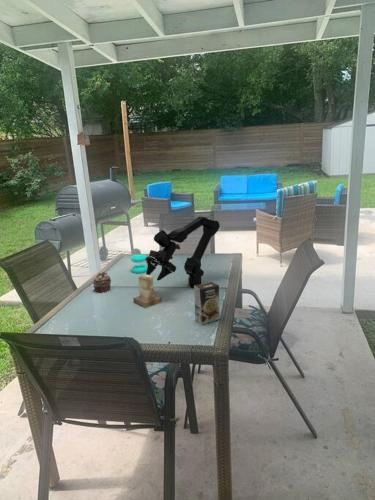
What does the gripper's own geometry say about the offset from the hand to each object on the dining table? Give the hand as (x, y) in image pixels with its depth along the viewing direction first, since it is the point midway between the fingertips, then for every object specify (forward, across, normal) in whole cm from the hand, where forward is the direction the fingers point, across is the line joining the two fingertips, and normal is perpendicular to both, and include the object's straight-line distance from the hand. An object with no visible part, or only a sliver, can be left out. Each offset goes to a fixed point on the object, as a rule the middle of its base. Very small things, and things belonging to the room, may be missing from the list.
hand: (151, 278), depth 193 cm
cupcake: (+15, -34, +1) cm, 37 cm away
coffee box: (+7, +37, +10) cm, 39 cm away
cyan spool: (-8, -46, +26) cm, 54 cm away
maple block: (+9, 0, +4) cm, 10 cm away
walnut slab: (+11, 0, +6) cm, 13 cm away
